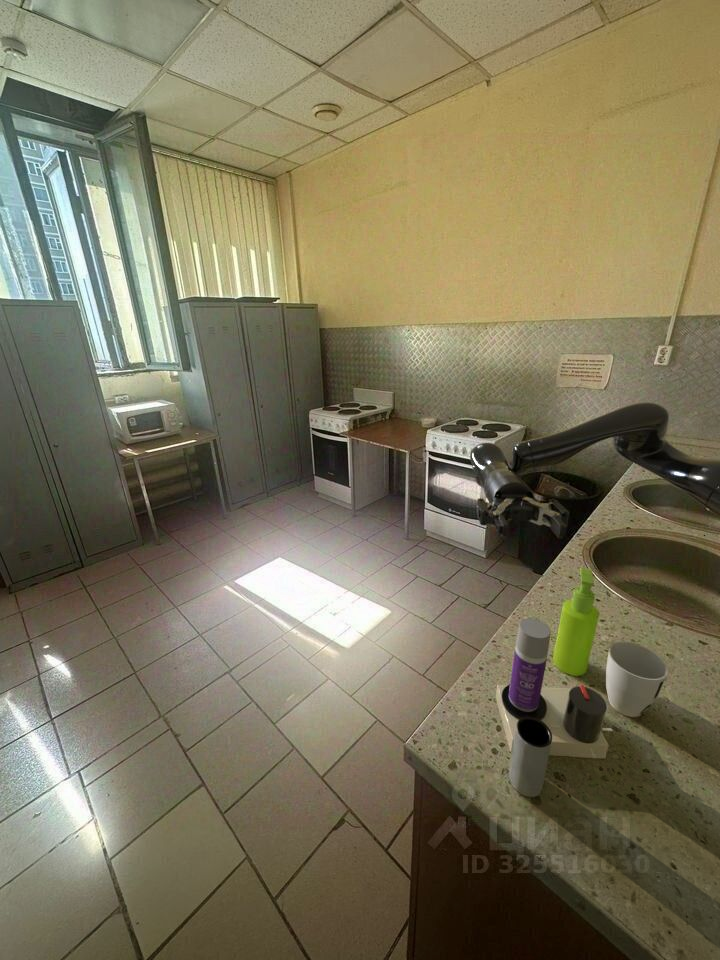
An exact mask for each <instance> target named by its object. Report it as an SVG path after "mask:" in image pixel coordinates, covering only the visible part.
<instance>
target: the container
mask: <svg viewBox="0 0 720 960" xmlns="http://www.w3.org/2000/svg"><path fill="white" fill-rule="evenodd" d="M551 633H552V631H551V628H550V626H548V624H546V622H544V621H542V620H540V619H538V618H533V617H527V618H523V619H521V620H520V622H519V625H518V631H517V636H516V642H515V647H514V654H513V661H512V667H511V674H510V683H509V685H510V688H509V700H510V702H511V703H512V704H513V705H514V706H515V707H516V708H518V709H519V710H522V711H525V712H532V711H534V710H536V709H537V707H538V704H539V699H540V694H541V688H542V687H543V683H544V677H545V671H546V666H547V661H548V654H549V648H550V647H549V646H550V640H551Z"/></svg>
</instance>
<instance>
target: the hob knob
mask: <svg viewBox="0 0 720 960" xmlns="http://www.w3.org/2000/svg"><path fill="white" fill-rule="evenodd" d="M607 708H608V707H607V703H606V700H605V699H604V697H602V696H601V694H599V693H598V692H597V691H595V690H594V689H592V688H589V687H586V686H585V685H584V684H579V685H578V686H577V685H576V686H574V687H572V688H571V690H570V692H569V696H568V700H567V705H566V710H565V714H564V719H563V725H564V727H565V729H566V731H567V732H568V733H569V734H570V735H571V736H572V737H573V738H574V739H576V740H578V741H580V742H583V743H587V744H591V743H595V742H596V741H597V740H598V739H599V736H600V732H601V731H602V728H603V724H604V721H605V717H606V713H607Z"/></svg>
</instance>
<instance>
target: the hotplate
mask: <svg viewBox="0 0 720 960" xmlns="http://www.w3.org/2000/svg"><path fill="white" fill-rule="evenodd" d="M507 685H508V686H506V687H505V688H504V689H503V691H502V703H503V705H504V707H505V709H506V710H507V711H508V712H509V713H510V714H511V715H512V716H514V717H515V718H517V719H521V718H522V717H526V716H530V717H535V718H537V719H539V720H542V719H543V718H544V717H545V715H546V711H547V705H546V702H545V700H544V698H543V697H542V695H541V694H540V699H539V704H538V707H537V709H536V710H534V711H532V712H525V711H522V710H519V709H518V708H516V707H515V706H514V705H513V704H512V703H511V702H510V700H509V688H510V684H507Z"/></svg>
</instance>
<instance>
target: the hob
mask: <svg viewBox="0 0 720 960" xmlns="http://www.w3.org/2000/svg"><path fill="white" fill-rule="evenodd" d="M508 685H509V684H497V685H496V692H495V700H496V703H497V707H498V711H499V715H500V719H501V722H502V726H503V729H504V733H505V736H506V740H507V744H508V748H509V751H510V754H512V750H513V744H514V738H515V731H516V725H517V722H518V720H519V719H517V718H515V717H514V716H512V715H511V714H510V713H509V712H508V711H507V710H506V709H505V707H504V705H503V703H502V691H503V689H504V688H505V687H506V686H508ZM571 689H572V688H570V687H567V688H566V687H547V686H542V688H541V695H542V697H543V698H544V700H545V702H546V705H547V711H546V715H545V717H544V718H543V719H542V720H541V721H542V722H544V723H545V724H546V725H547V726H548V728H549V729H550V731H551V733H552V743H551V748H550V753H549V756H556V757H571V758H574V757H575V758H588V759H603V760H606V756H607V753H608V750H609V747H610V746H609V743H608V741H607V739H606V737H605V735H604V732H613V729H612V728H609V727H602V728H601V732H600V736H599V739H598V740H597V741H596V742H595V743H591V744H587V743H583V742H580V741H578V740H576V739H574V738H573V737H572V736H571V735H570V734H569V733H568V732H567V731H566V729H565V727H564V725H563V719H564V714H565V710H566V705H567V700H568V696H569V692H570V690H571ZM602 731H604V732H602Z"/></svg>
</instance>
